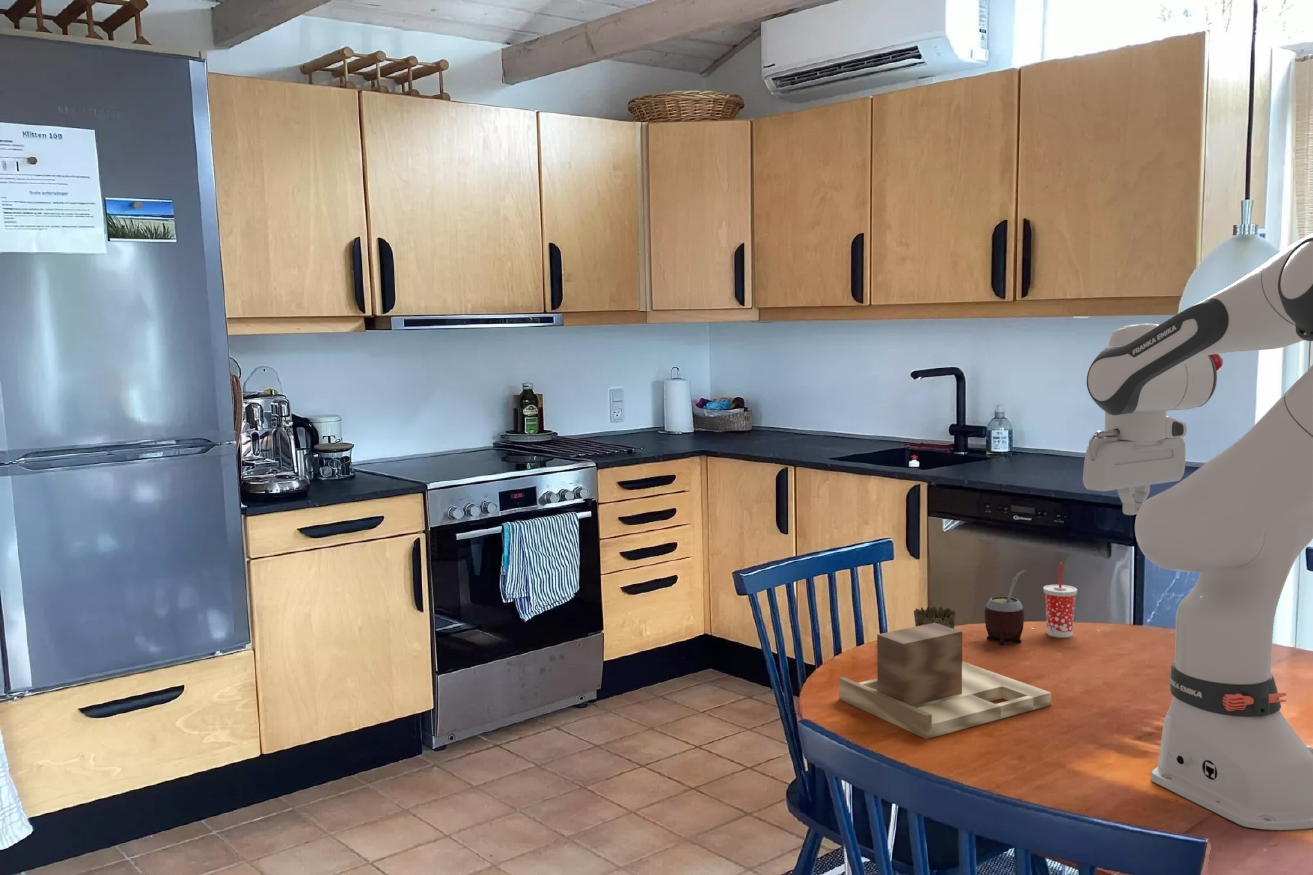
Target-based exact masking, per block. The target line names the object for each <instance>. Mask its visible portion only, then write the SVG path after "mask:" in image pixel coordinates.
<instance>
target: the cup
mask: <svg viewBox="0 0 1313 875" xmlns="http://www.w3.org/2000/svg"><path fill="white" fill-rule="evenodd" d="M956 616H957V612H956V611H955V610H954V609H951V608H950V607H947V608H945V609H943V607H942V606H940V607H939V608H938V609H937V608H936V606H932V607H930V605H929V606H927V607H926V609H924V607H921V608H920V609H919V608H918V607H917V608H915V610H913V617H914V623H915V626H914V627H916V626H921V625H926V624H931V623H937V624H940V625H944V626H947V627H950V628H953V629H955V627H956V626H955V624H956V618H957V617H956Z"/></svg>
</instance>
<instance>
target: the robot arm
mask: <svg viewBox="0 0 1313 875" xmlns="http://www.w3.org/2000/svg"><path fill="white" fill-rule="evenodd" d="M1303 341H1305V342H1313V232H1312V233H1310V234H1309V235H1306V236H1304V237H1303V238H1301V239H1299V240H1297V241H1296V242H1294V243H1291V245H1289V246H1287V247H1286V248H1284V249H1283V250H1281V251H1280V252H1278V253H1277V254H1275V255H1274V256H1273V257H1271V258H1269V259H1268V260H1267V261H1266V262H1264V263H1263V264H1261V265H1260V266H1259V267H1257V268H1255V269H1254V270H1253V271H1251V272H1249V273H1248V274H1246V275H1244V276H1243V277H1241V278H1240V279H1239V280H1237V281H1235V282H1234V283H1232V284H1231V285H1229V286H1227V287H1225V288H1223V289H1221V290H1219V291H1218V292H1216V293H1215V294H1212V295H1211V296H1208V297H1207V298H1205V299H1203V300H1201V301H1199V302H1197V303H1195V304H1194V305H1192V306H1190V307H1187V308H1186V309H1184V310H1182V311H1180V312H1178V313H1177V314H1175V315H1173V316H1171V317H1170V318H1168V319H1167V320H1166V321H1164V322H1162V323H1160V324H1157V323H1147V322H1146V323H1137V324H1130V325H1125V326H1124V325H1123V326H1121V327H1119V328H1117V329H1115V330H1114V331H1113V332H1112V333H1111V335H1110V338H1109V342H1108V347H1106V348H1105V347H1104V349H1103V350H1101V351H1100V352H1099V354H1098V355H1097V356H1096V357H1095V358H1094V359H1093V361H1092V363H1091V365H1090V366H1089V369H1088V371H1087V374H1086V375H1087V376H1086V386H1087V391H1088V394H1089V396H1090V397H1091V399H1092V400H1093V402H1094V404H1096V405H1097V406H1098V407H1099V408H1100V409H1102V410H1103V411H1104V430H1097V431H1095V433H1094V434H1093V435H1092V436H1091V438H1090V439H1089V441H1088V445H1087V448H1086V450H1085V451H1086V452H1085V455H1084V456H1085V457H1084V462H1083V471H1082V472H1083V474H1082V483H1083V485H1084V487H1085V489H1086V490H1089V491H1097V492H1106V491H1107V492H1109V491H1114V490H1117V495H1118V497H1119V500H1120V502H1121V504H1122V513H1123V514H1124V515H1127V516H1135V515H1136V516H1135V522H1134V533H1135V538H1136V539H1135V540H1136V542H1137V545H1138V547H1139V549H1140V551H1141V553H1142V554H1143V555H1144V556H1145V558H1146V559H1147V560H1148V561H1149V562H1150V563H1152V564H1153V565H1154V566H1156V567H1158V568H1160V569H1162V570H1163V569H1164V570H1168V571H1175V572H1185V573H1198V574H1199V576H1198V578H1197V580H1196V581H1195V584H1194V586H1193V587H1192V589H1191V590H1190V591H1189V592H1188V594H1187V595H1185V596H1184V597H1183V599H1182V600H1181V601H1180V603H1179V605H1178V606H1177V609H1176V612H1175V636H1174V637H1175V638H1174V639H1175V640H1174V641H1175V643H1174V646H1175V647H1174V662H1173V663H1172V665H1171V666H1170V674H1169V684H1170V685H1169V687H1170V688H1169V692H1170V694H1171V695H1172V699H1171V703H1170V706H1169V708H1168V711H1167V712H1166V714H1165V716H1164V719H1163V725H1162V731H1161V732H1162V733H1161V740H1160V747H1159V755H1158V762H1157V766H1156V767H1155V768H1154V769H1152V771H1151V775H1150V781H1152V782H1153V783H1155V784H1157V785H1158V786H1161V787H1163V788H1164V789H1167V790H1168V791H1171V792H1174V794H1176V795H1179V796H1180V797H1183V798H1185V799H1187V800H1189V801H1191V802H1193V803H1195V804H1197V805H1200V806H1201V807H1203V808H1205V809H1207V810H1210V811H1211V812H1214V813H1216V814H1218V815H1219V816H1221V817H1224V818H1225V819H1227V820H1230V821H1231V822H1234V823H1235V824H1237V825H1240V826H1242V827H1245V828H1252V829H1259V830H1270V831H1283V830H1284V831H1285V830H1286V831H1289V830H1291V831H1293V830H1304V829H1305V830H1306V829H1312V828H1313V747H1312V746H1310V744H1305V742H1304V741H1303V740H1302V738H1301V737H1300V736H1299V735H1298V734H1297V731H1295V730H1294V728H1293V726H1292V725H1291V723H1290V722H1288V720H1287V719H1286V718H1285V716H1284V715H1283V713H1282V711H1281V708H1282V705H1281V703H1284V702H1287V700H1286V699H1280V698H1282V697H1285V696H1287V693H1286V692H1278V686H1277V685H1276V681H1275V677H1274V675H1272V673H1271V672H1272V652H1273V637H1274V636H1273V635H1274V625H1275V624H1274V623H1275V617H1276V612H1277V608H1278V605H1279V601H1280V598H1281V594H1282V592H1283V590H1284V587H1285V583H1286V582H1287V579H1288V577H1289V574H1290V572H1291V569H1292V567H1293V565H1294V563H1295V562H1296V559H1297V558H1298V557H1299V555H1300V554H1301V553H1302V552H1303V550H1305V548H1306V547H1308V546H1309V544H1310V543H1311V541H1312V540H1313V364H1312V365H1310V368H1308V369H1307V370H1306V372H1304V374H1302V376H1301V377H1300V378H1298V379H1297V380H1296V381H1295V382H1294V383H1293V384H1292V386H1290V387H1289V388H1288V390H1286V391H1285V393H1283V395H1281V397H1280V398H1278V400H1277V401H1276V402H1275V403H1274V405H1272V406H1271V407H1270V409H1269V410H1268V411H1267V412H1266V413H1265V414H1263V416H1262V417H1261V418H1260V419H1259V420H1258V421H1257V422H1256V423H1255V424H1254V425H1253V427H1251V428H1250V429H1249V431H1247V432H1246V433H1245V434H1244V435H1243V436H1241V438H1239V439H1237V440H1236V442H1234V443H1233V444H1231V445H1230V446H1229V447H1227V448H1226V449H1224V450H1223V451H1222V452H1220V453H1219V454H1217V455H1216V456H1214V457H1213V458H1212V459H1210V460H1209V461H1207V462H1206V463H1205V464H1203V465H1202V466H1200V467H1198V469H1197V470H1194V471H1193V472H1192V473H1191V474H1189V475H1188V476H1186V477H1185V478H1184V479H1182V478H1183V476H1184V473H1185V470H1186V469H1185V468H1186V443H1185V440H1184V437H1186V435H1187V430H1188V427H1187V426H1188V425H1187V424H1186V423H1185V422H1183V421H1181V420H1179V419H1175V418H1173V417H1171V416H1168V415H1167V412H1168V411H1182V410H1184V411H1186V410H1192V409H1195V408H1201V407H1202V406H1204V405H1205V404H1207V403H1208V402H1209V401H1210V399H1211V398H1212V397H1213V395H1214V393H1215V390H1216V388H1217V382H1218V373H1217V366H1216V363H1215V362H1214V360H1213V358H1212V356H1213V355H1218V354H1226V353H1235V352H1249V351H1265V350H1273V349H1274V350H1275V349H1281V348H1285V347H1288V346H1292V345H1294V344H1297V343H1301V342H1303ZM1211 355H1212V356H1211ZM1172 482H1178V483H1176V484H1174V485H1173V486H1171V487H1169V488H1167V489H1165V490H1163V491H1162V492H1159V493H1157V494H1155V495H1153V496H1151V497H1149V498H1148V496H1149V495H1150V492H1151V486H1153V485H1158V484H1165V483H1172Z"/></svg>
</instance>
